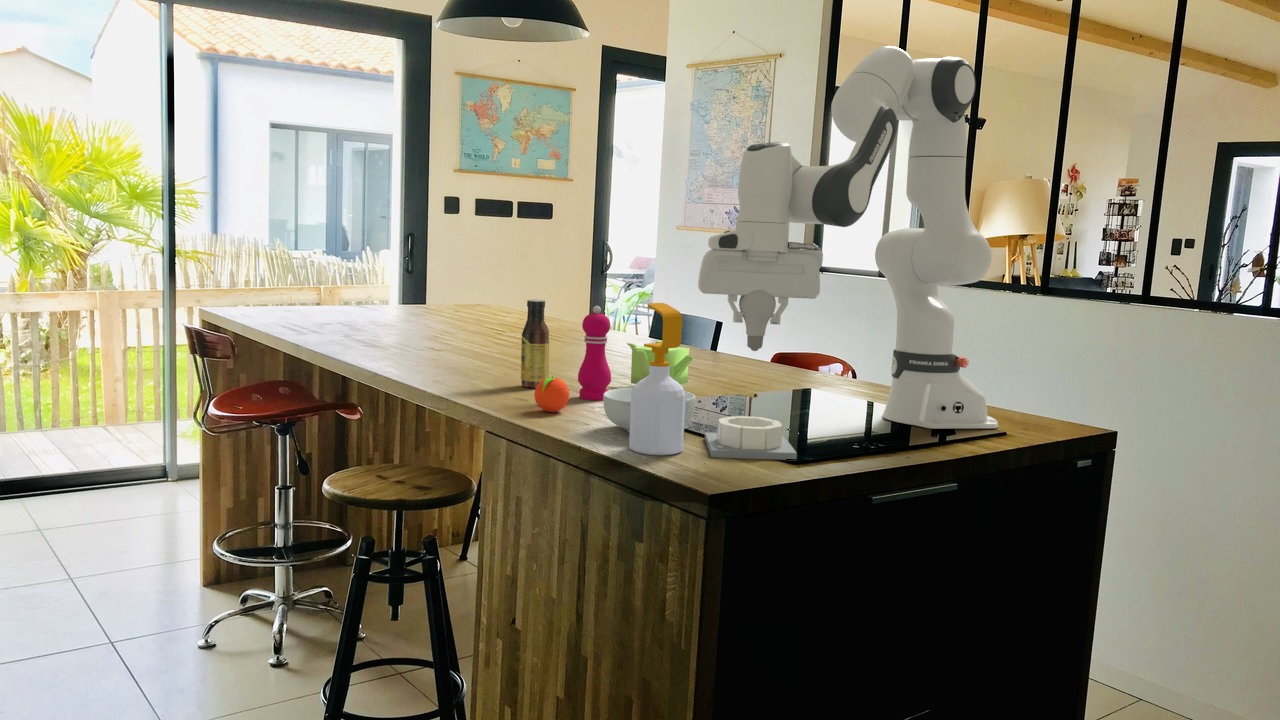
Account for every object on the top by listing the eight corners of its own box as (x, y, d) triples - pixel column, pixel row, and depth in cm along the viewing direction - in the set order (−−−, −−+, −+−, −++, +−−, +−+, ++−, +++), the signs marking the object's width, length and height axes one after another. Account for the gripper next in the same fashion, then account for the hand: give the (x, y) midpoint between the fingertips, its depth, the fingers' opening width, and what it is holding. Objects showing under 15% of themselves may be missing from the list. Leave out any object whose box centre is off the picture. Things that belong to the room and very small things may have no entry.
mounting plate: (782, 441, 174) (783, 433, 174) (796, 460, 160) (797, 451, 160) (704, 439, 174) (705, 430, 174) (711, 457, 160) (711, 448, 160)
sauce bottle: (524, 383, 227) (526, 298, 224) (550, 385, 226) (553, 299, 223) (517, 388, 220) (519, 300, 217) (544, 389, 219) (546, 301, 217)
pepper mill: (617, 398, 212) (620, 306, 210) (598, 402, 206) (601, 307, 204) (589, 394, 216) (592, 303, 214) (570, 398, 210) (573, 305, 208)
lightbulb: (775, 350, 167) (779, 286, 166) (769, 354, 161) (773, 287, 160) (740, 348, 169) (744, 284, 167) (732, 351, 163) (736, 285, 162)
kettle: (635, 394, 219) (637, 344, 217) (620, 384, 232) (621, 337, 231) (698, 393, 222) (701, 344, 221) (680, 384, 236) (682, 337, 235)
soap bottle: (656, 441, 170) (662, 301, 167) (693, 451, 164) (700, 305, 160) (617, 448, 164) (623, 302, 161) (655, 458, 158) (662, 306, 154)
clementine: (558, 417, 188) (559, 381, 188) (525, 414, 191) (526, 378, 190) (574, 410, 196) (575, 375, 195) (542, 407, 198) (543, 372, 197)
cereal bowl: (648, 419, 191) (650, 383, 190) (712, 434, 179) (714, 396, 178) (583, 429, 179) (584, 390, 178) (647, 445, 167) (648, 405, 166)
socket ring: (775, 437, 172) (776, 417, 172) (784, 450, 162) (785, 429, 162) (715, 434, 172) (716, 415, 172) (721, 448, 162) (722, 427, 161)
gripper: (820, 243, 166) (814, 324, 168) (699, 237, 166) (695, 318, 167) (827, 243, 160) (821, 328, 161) (702, 237, 159) (698, 322, 161)
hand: (756, 323), depth 164 cm, fingers closed on lightbulb, 5 cm apart
